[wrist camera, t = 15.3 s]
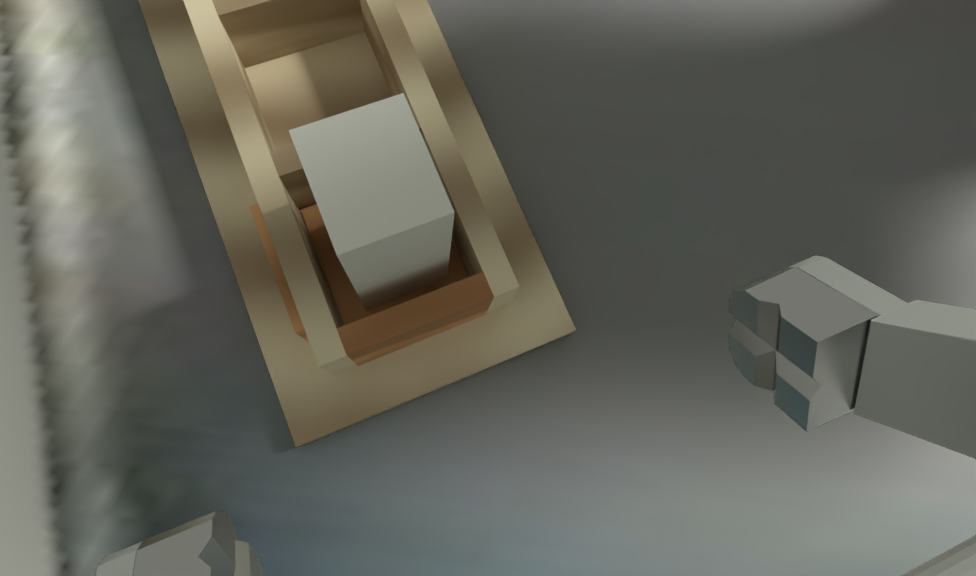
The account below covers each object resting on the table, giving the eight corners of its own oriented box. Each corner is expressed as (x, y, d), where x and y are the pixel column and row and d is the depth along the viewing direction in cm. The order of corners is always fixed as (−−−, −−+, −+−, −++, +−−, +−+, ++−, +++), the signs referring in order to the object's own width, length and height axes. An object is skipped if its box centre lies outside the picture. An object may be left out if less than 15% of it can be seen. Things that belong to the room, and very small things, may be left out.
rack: (114, -78, 29) (58, -169, 25) (357, -140, 31) (345, -234, 27) (300, 446, 24) (272, 450, 20) (570, 333, 26) (598, 314, 22)
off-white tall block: (411, 193, 26) (403, 92, 18) (447, 279, 25) (454, 212, 17) (332, 222, 25) (288, 130, 18) (366, 310, 25) (336, 255, 17)
